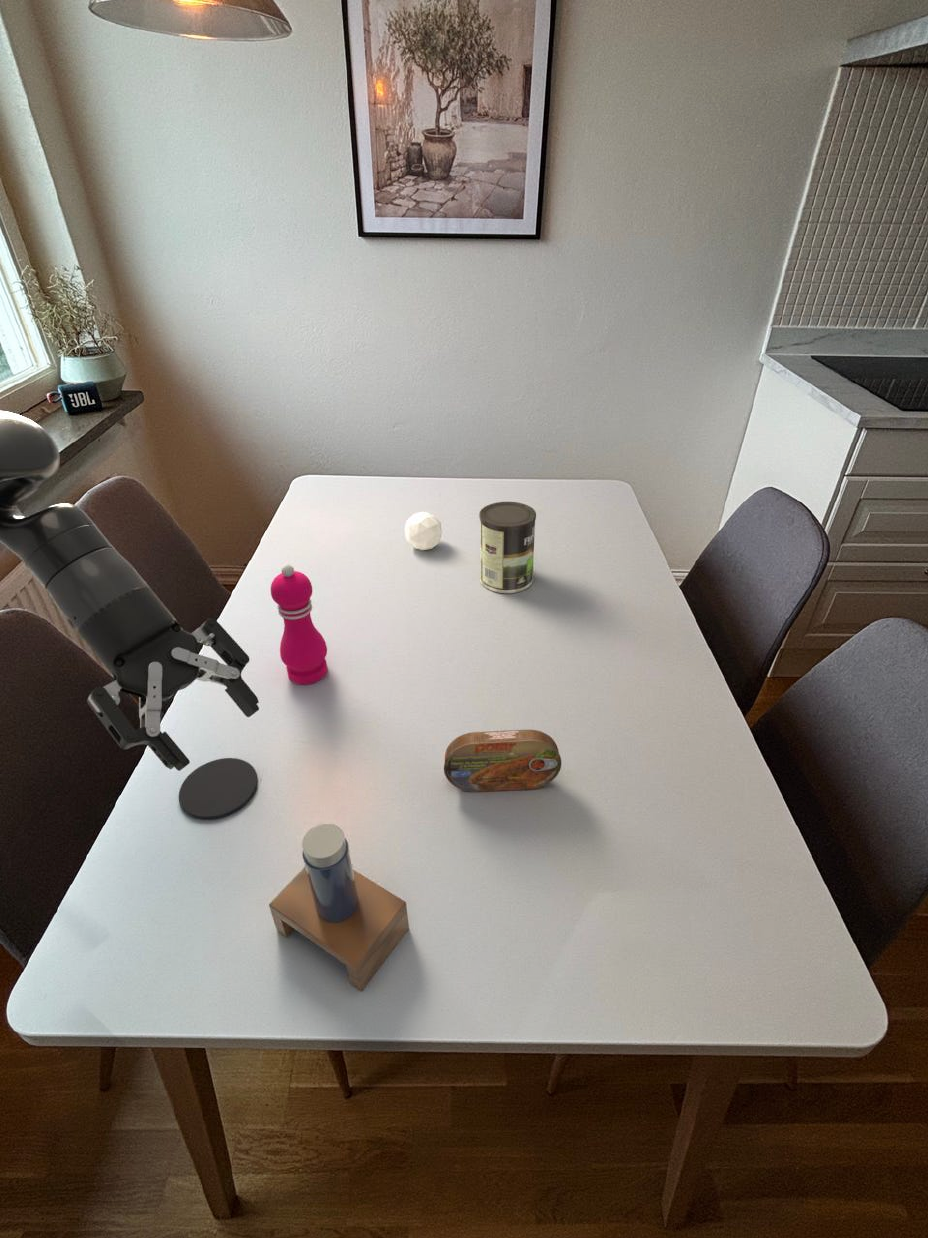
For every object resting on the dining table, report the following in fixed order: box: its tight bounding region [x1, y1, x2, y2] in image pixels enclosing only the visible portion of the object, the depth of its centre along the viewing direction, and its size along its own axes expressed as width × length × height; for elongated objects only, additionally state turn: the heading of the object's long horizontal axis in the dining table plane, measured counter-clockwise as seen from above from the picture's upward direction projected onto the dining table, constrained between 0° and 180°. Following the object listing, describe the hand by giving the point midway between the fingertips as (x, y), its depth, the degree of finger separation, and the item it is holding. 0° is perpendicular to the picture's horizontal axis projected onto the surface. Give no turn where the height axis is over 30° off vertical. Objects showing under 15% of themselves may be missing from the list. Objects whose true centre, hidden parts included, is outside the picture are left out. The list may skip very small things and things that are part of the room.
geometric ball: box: [404, 511, 443, 551], centre depth 140 cm, size 8×8×8 cm
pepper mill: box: [270, 564, 328, 685], centre depth 104 cm, size 7×7×20 cm
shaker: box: [301, 822, 358, 923], centre depth 68 cm, size 4×4×10 cm
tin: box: [443, 729, 562, 793], centre depth 88 cm, size 15×3×8 cm, turn 92°
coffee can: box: [478, 501, 537, 594], centre depth 127 cm, size 10×10×14 cm
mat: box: [178, 757, 259, 821], centre depth 90 cm, size 10×10×1 cm
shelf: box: [268, 866, 410, 992], centre depth 72 cm, size 8×12×5 cm, turn 57°
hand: (221, 739), depth 66 cm, fingers open, 8 cm apart
